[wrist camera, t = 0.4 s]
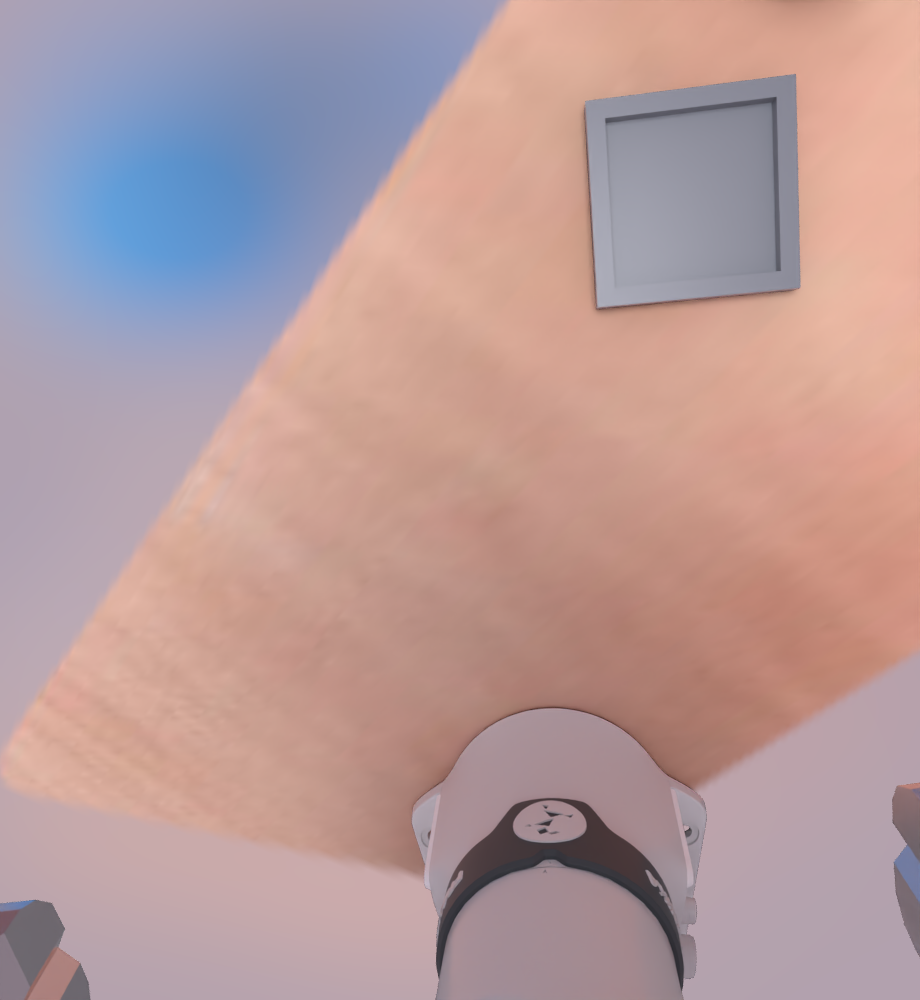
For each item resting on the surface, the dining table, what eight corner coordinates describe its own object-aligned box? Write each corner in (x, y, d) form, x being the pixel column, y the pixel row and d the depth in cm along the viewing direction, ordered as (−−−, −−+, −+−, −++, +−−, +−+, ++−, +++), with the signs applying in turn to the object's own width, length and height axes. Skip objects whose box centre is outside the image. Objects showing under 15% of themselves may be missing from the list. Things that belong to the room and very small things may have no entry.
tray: (792, 290, 45) (800, 287, 44) (596, 309, 47) (597, 307, 45) (787, 83, 44) (795, 74, 42) (584, 109, 45) (585, 101, 44)
